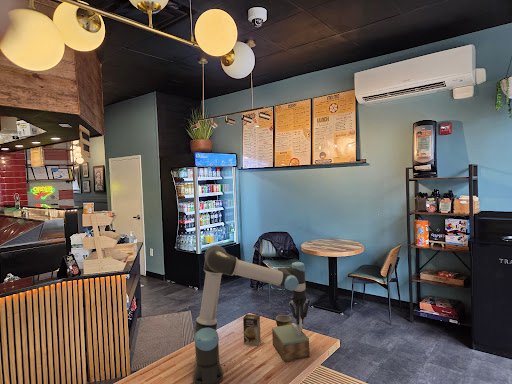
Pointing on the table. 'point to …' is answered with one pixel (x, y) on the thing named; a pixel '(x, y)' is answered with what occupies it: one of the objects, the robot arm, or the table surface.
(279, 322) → the ceramic cup
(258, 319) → the coffee box
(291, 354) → the toolbox
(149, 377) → the table surface
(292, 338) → the lid
